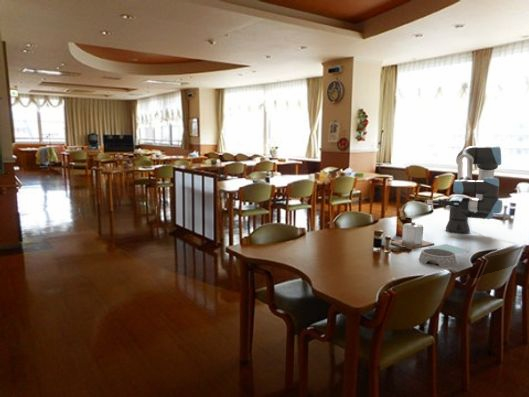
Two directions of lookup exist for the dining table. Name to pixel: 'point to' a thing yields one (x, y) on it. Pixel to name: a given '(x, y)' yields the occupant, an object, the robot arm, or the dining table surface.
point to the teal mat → (450, 248)
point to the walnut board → (409, 246)
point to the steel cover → (412, 234)
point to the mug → (401, 225)
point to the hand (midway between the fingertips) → (430, 201)
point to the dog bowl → (438, 257)
